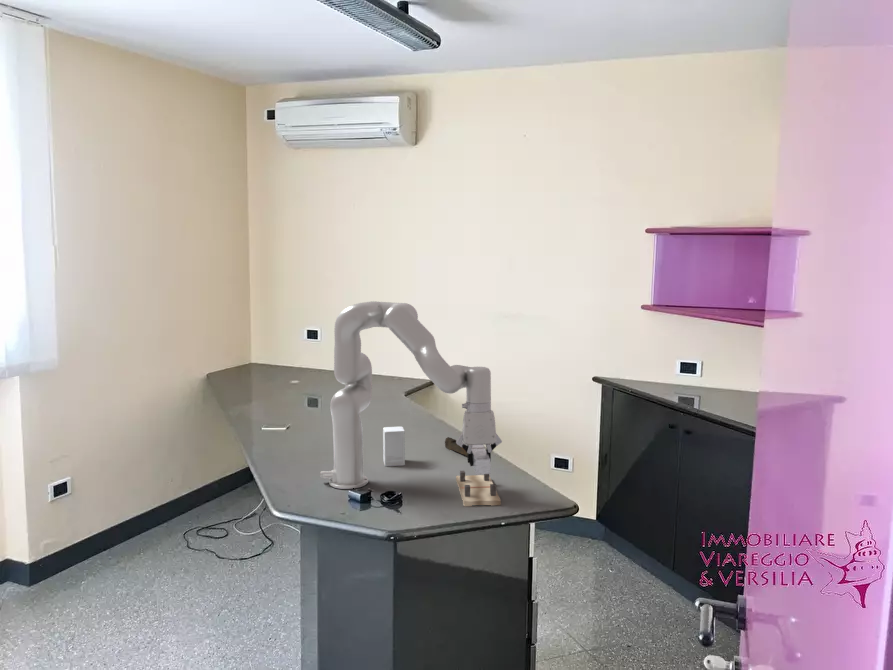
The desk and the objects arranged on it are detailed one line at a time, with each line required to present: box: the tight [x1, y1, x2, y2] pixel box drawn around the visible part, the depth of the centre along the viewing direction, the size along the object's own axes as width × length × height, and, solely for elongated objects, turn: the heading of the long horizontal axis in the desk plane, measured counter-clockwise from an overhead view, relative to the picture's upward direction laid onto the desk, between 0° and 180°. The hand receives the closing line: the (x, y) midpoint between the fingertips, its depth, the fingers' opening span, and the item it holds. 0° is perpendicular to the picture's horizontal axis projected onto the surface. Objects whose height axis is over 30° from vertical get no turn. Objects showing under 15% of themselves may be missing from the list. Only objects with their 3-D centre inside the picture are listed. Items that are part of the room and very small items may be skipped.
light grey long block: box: [472, 444, 491, 475], centre depth 210 cm, size 4×18×4 cm, turn 5°
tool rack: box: [455, 470, 502, 507], centre depth 213 cm, size 11×24×4 cm, turn 5°
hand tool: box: [444, 436, 468, 458], centre depth 257 cm, size 19×4×5 cm, turn 31°
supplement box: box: [382, 426, 406, 467], centre depth 243 cm, size 7×7×13 cm
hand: (479, 464), depth 210 cm, fingers closed on light grey long block, 4 cm apart
